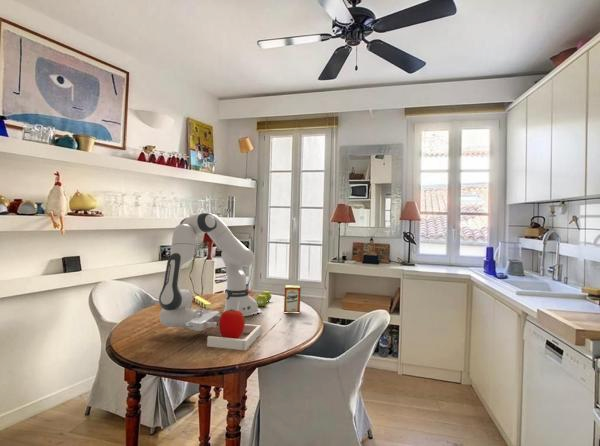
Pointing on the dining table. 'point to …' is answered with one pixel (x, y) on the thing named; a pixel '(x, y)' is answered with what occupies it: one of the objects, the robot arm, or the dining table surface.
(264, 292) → the dumbbell
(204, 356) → the dining table surface
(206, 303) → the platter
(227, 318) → the red apple
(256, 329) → the white tray
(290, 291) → the baking soda box
